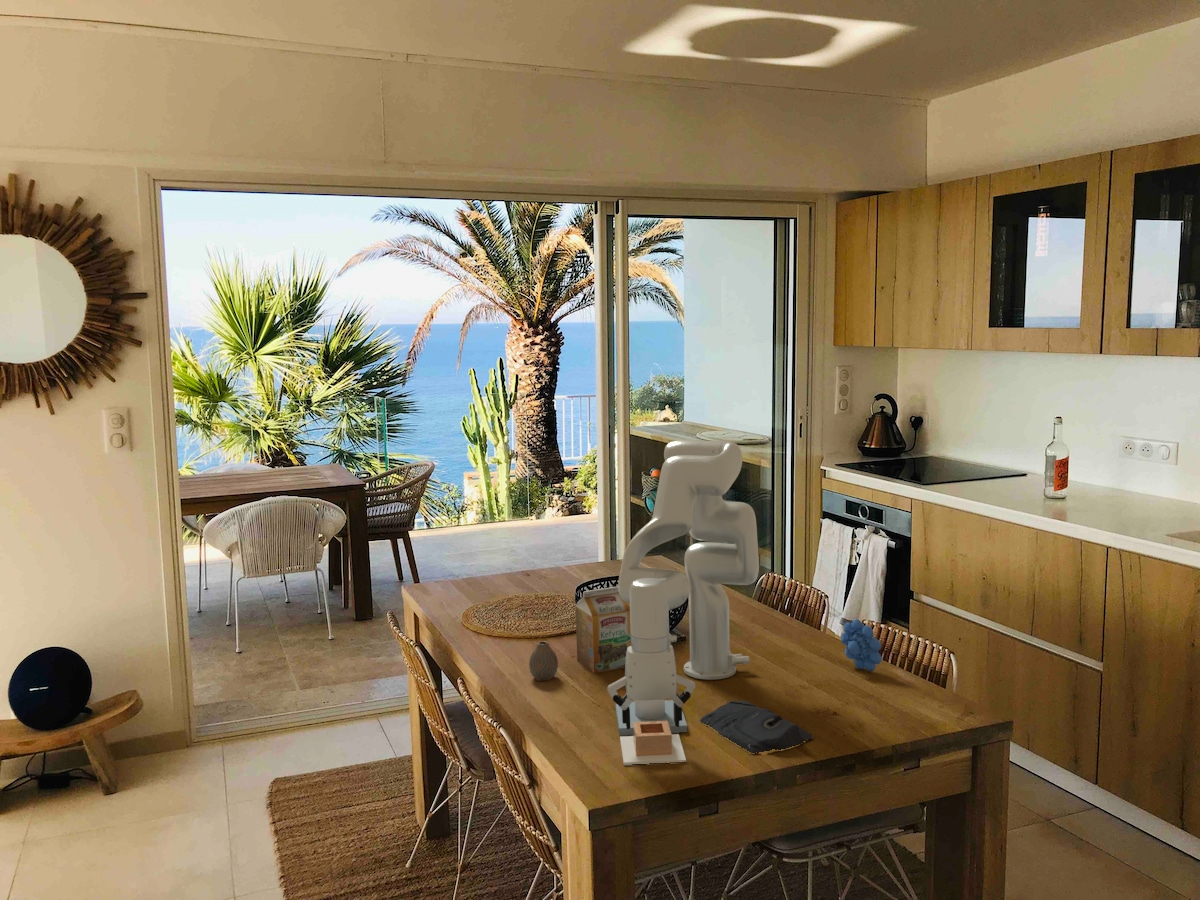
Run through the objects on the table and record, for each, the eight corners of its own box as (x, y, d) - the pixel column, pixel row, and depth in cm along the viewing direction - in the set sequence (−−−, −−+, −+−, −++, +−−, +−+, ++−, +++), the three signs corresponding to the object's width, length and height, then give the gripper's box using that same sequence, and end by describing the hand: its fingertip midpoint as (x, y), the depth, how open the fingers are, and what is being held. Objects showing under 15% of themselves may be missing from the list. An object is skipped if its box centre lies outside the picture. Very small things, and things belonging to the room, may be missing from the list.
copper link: (667, 739, 200) (667, 720, 199) (671, 754, 193) (671, 734, 193) (633, 741, 200) (632, 722, 199) (636, 756, 193) (635, 736, 192)
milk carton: (593, 673, 241) (591, 596, 238) (577, 660, 250) (574, 586, 248) (633, 665, 245) (631, 591, 243) (615, 653, 255) (613, 581, 252)
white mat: (678, 736, 203) (678, 734, 202) (686, 762, 191) (686, 759, 191) (620, 739, 202) (619, 736, 202) (623, 765, 190) (623, 762, 190)
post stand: (679, 706, 218) (678, 656, 217) (687, 732, 205) (686, 678, 203) (615, 709, 218) (614, 658, 216) (619, 735, 204) (618, 681, 203)
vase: (554, 684, 234) (553, 648, 233) (526, 682, 236) (525, 646, 234) (561, 673, 241) (560, 638, 240) (534, 672, 242) (532, 637, 241)
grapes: (829, 667, 240) (829, 619, 239) (847, 660, 245) (848, 613, 243) (869, 679, 231) (869, 630, 230) (887, 673, 235) (887, 624, 234)
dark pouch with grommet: (752, 707, 218) (752, 686, 217) (819, 743, 199) (819, 721, 198) (693, 722, 211) (693, 701, 210) (757, 761, 192) (757, 738, 191)
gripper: (691, 633, 198) (693, 715, 200) (604, 637, 197) (607, 719, 200) (696, 646, 190) (698, 731, 193) (606, 650, 190) (609, 735, 192)
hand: (652, 725), depth 196 cm, fingers open, 9 cm apart
